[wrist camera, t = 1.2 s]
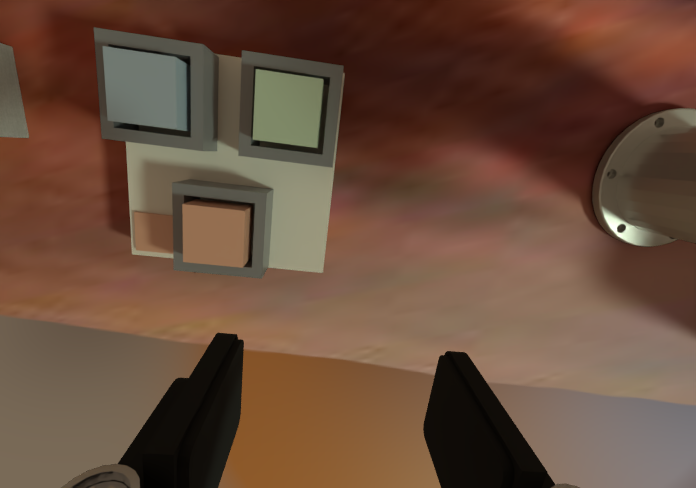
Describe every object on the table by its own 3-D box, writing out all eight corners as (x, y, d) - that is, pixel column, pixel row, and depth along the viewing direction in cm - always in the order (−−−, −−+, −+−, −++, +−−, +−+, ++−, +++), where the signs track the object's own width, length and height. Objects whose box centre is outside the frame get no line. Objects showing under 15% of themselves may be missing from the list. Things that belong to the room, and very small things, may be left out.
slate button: (191, 66, 22) (175, 56, 20) (191, 131, 23) (176, 129, 21) (126, 57, 22) (102, 46, 19) (130, 123, 23) (107, 120, 20)
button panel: (343, 81, 27) (347, 62, 21) (323, 261, 31) (321, 286, 26) (143, 51, 26) (89, 23, 20) (151, 244, 30) (108, 266, 24)
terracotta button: (252, 205, 25) (245, 210, 22) (250, 257, 26) (242, 267, 24) (196, 198, 24) (182, 203, 22) (196, 251, 26) (183, 261, 23)
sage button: (324, 86, 23) (323, 79, 20) (318, 148, 24) (316, 147, 22) (263, 77, 22) (255, 69, 20) (260, 140, 24) (252, 139, 21)
